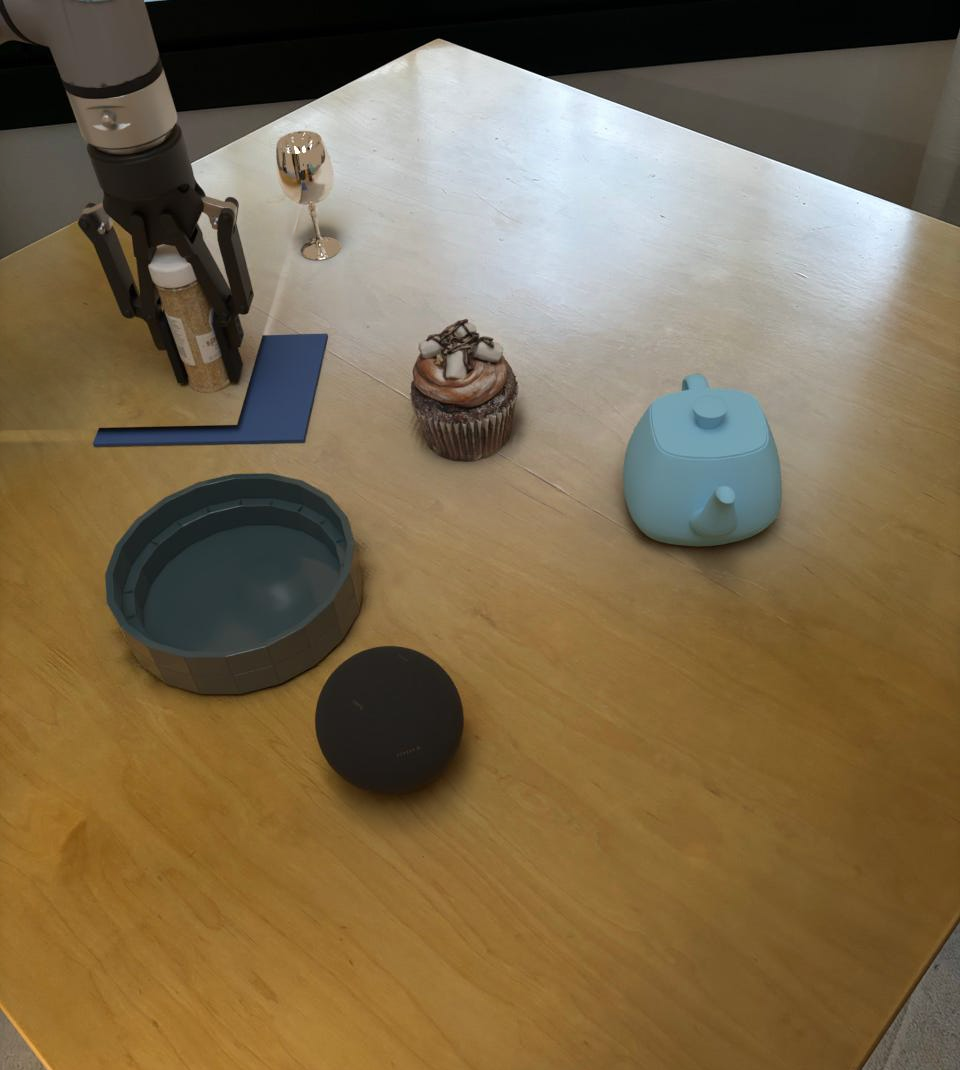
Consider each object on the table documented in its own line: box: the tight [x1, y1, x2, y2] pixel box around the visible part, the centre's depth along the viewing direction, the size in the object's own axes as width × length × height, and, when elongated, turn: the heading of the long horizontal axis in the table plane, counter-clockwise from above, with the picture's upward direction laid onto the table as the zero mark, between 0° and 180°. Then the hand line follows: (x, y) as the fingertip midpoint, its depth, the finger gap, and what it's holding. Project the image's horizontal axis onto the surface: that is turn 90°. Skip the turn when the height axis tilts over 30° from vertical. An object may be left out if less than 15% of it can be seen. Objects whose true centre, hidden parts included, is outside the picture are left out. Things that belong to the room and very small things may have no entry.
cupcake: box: [409, 318, 520, 462], centre depth 94 cm, size 10×10×10 cm
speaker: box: [314, 645, 465, 796], centre depth 73 cm, size 10×10×10 cm
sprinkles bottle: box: [148, 244, 232, 394], centre depth 98 cm, size 5×5×13 cm
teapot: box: [622, 373, 783, 547], centre depth 85 cm, size 13×11×18 cm
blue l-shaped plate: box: [92, 332, 329, 448], centre depth 104 cm, size 20×16×1 cm
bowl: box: [104, 472, 365, 695], centre depth 85 cm, size 19×19×5 cm
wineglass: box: [275, 130, 342, 261], centre depth 114 cm, size 6×6×12 cm
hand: (210, 373), depth 103 cm, fingers closed on sprinkles bottle, 4 cm apart
